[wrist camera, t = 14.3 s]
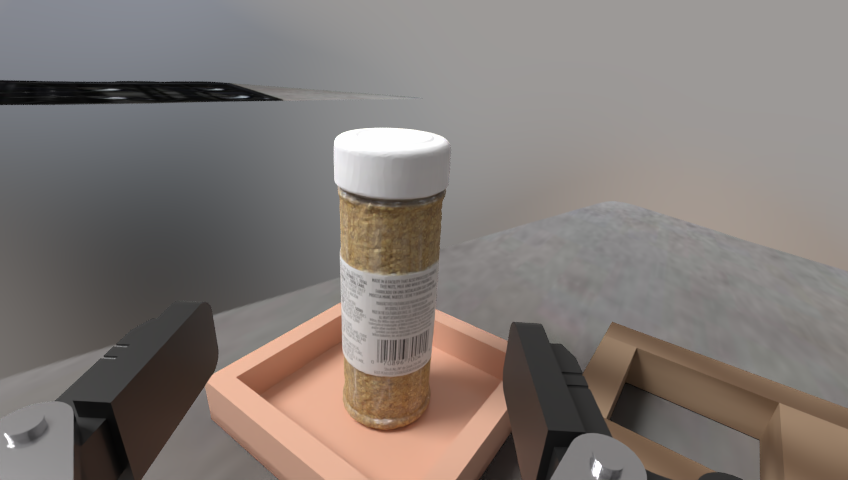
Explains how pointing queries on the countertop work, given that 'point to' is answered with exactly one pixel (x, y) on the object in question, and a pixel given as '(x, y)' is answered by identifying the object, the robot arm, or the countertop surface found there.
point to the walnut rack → (719, 408)
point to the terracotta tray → (345, 437)
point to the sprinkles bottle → (389, 268)
